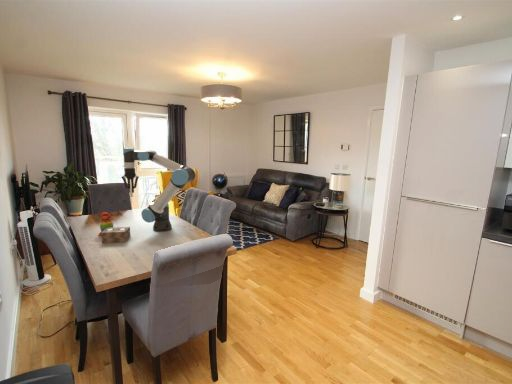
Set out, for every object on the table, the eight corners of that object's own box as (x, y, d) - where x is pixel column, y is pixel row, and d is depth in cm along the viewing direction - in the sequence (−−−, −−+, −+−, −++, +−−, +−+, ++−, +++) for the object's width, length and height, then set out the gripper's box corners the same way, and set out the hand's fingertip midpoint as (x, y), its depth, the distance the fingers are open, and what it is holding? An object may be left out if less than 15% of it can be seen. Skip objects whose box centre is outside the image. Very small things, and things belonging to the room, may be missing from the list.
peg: (114, 238, 200) (113, 228, 199) (112, 240, 196) (111, 230, 195) (108, 238, 200) (107, 229, 198) (106, 240, 196) (105, 230, 194)
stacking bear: (97, 236, 205) (95, 214, 202) (101, 232, 215) (99, 211, 212) (113, 235, 208) (111, 213, 205) (116, 231, 218) (114, 210, 215)
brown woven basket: (130, 236, 206) (129, 226, 205) (125, 242, 194) (124, 231, 193) (108, 237, 203) (107, 227, 202) (102, 243, 192) (101, 232, 190)
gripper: (139, 167, 214) (141, 195, 218) (122, 167, 212) (124, 196, 216) (137, 168, 207) (138, 197, 211) (119, 168, 205) (121, 197, 209)
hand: (131, 196), depth 213 cm, fingers closed
